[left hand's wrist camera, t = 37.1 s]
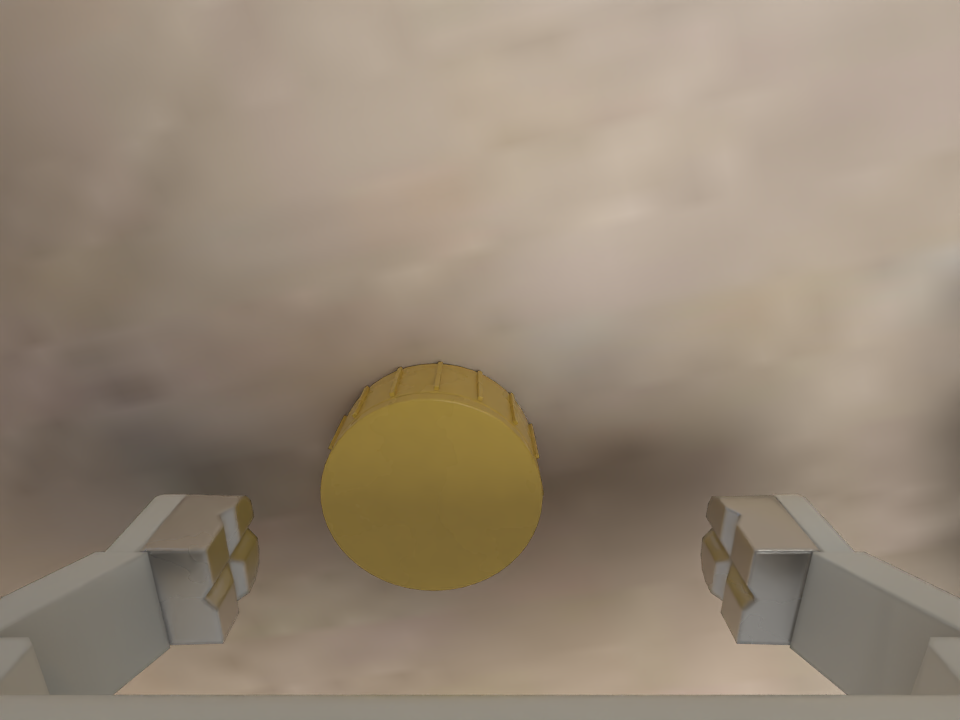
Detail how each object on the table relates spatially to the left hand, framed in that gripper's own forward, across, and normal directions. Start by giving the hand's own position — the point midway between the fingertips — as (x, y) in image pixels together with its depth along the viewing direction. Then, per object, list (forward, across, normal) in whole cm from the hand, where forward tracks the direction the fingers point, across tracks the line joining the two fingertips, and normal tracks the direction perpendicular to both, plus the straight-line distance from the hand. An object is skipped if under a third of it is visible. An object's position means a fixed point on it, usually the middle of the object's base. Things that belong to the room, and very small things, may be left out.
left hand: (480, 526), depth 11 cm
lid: (+3, -1, -1) cm, 3 cm away
